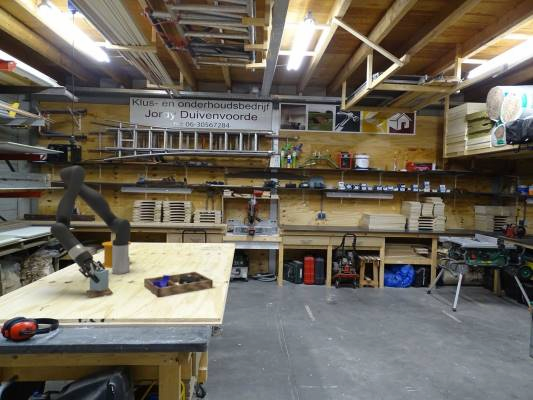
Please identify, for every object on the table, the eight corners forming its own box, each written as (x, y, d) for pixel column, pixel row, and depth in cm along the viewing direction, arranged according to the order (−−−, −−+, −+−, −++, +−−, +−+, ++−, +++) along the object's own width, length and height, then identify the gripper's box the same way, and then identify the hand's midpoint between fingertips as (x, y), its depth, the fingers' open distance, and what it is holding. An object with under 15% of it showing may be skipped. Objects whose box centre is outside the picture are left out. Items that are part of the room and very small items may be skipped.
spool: (133, 265, 230) (133, 243, 229) (104, 269, 219) (104, 245, 219) (127, 260, 244) (127, 239, 244) (99, 263, 234) (99, 241, 234)
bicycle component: (188, 276, 197) (174, 284, 183) (192, 265, 196) (178, 272, 182) (205, 286, 195) (192, 295, 180) (210, 275, 193) (197, 283, 179)
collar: (97, 286, 173) (97, 268, 173) (108, 287, 172) (108, 269, 172) (89, 290, 167) (89, 271, 167) (101, 290, 166) (101, 272, 166)
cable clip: (161, 286, 184) (161, 275, 184) (169, 286, 184) (169, 275, 183) (150, 293, 173) (150, 281, 172) (158, 293, 172) (158, 281, 171)
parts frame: (195, 278, 201) (195, 271, 201) (212, 287, 184) (212, 280, 184) (144, 286, 184) (144, 278, 184) (157, 297, 166) (157, 288, 166)
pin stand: (108, 289, 177) (108, 273, 177) (112, 294, 169) (112, 278, 169) (86, 292, 171) (86, 276, 171) (90, 298, 163) (90, 281, 163)
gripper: (75, 252, 163) (98, 279, 162) (94, 247, 177) (116, 271, 176) (65, 263, 164) (88, 289, 163) (85, 257, 178) (106, 281, 177)
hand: (102, 280), depth 169 cm, fingers closed on collar, 6 cm apart
